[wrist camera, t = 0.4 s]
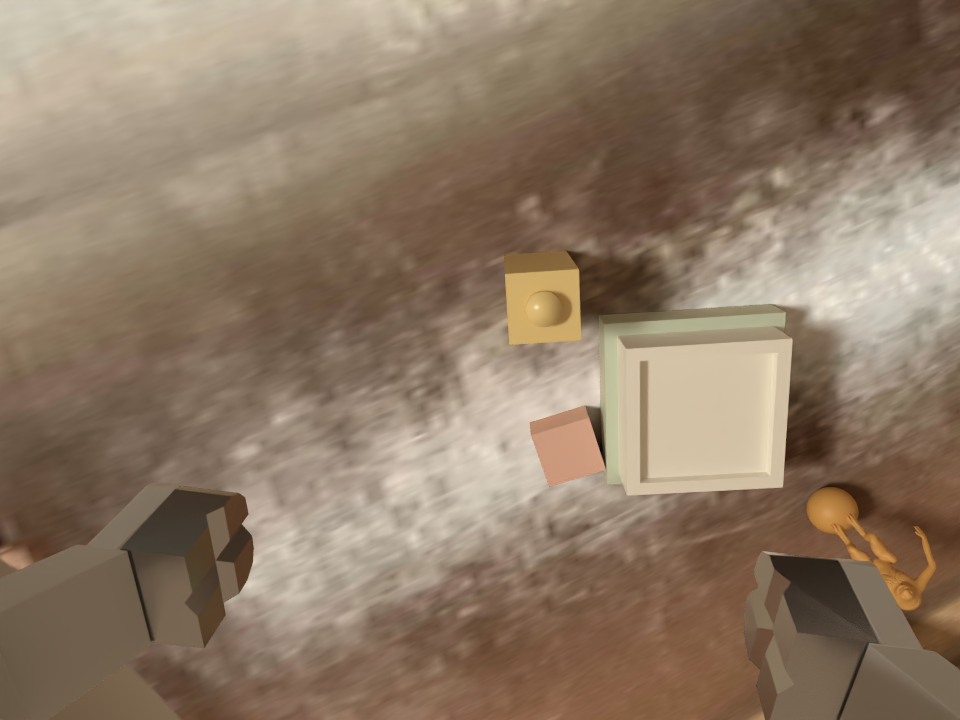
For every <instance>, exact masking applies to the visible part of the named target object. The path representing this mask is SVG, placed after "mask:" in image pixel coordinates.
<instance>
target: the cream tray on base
mask: <svg viewBox="0 0 960 720" xmlns="http://www.w3.org/2000/svg"><path fill="white" fill-rule="evenodd" d="M785 320H786V312H784V311H782V310H781V309H779V308H777V307H775V306H773V305H771V304H765V305H750V306H734V307H719V308H703V309H688V310H672V311H657V312H641V313H626V314H610V315H599V357H600V404H601V452H602V459H603V462H604V465H605V468H606V470H604V471H603V474H604V477H605V480H606V483H607V485H611V484H623V485H624V488H625V491H626V493H627V495H646V494H665V493H684V492H703V491H722V490H741V489H760V488H779V487H783V477H784V462H785V447H786V432H787V417H788V402H789V387H790V372H791V357H792V342H793V339H792V338H791V337H789V336H788V335H786V334H785Z"/></svg>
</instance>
